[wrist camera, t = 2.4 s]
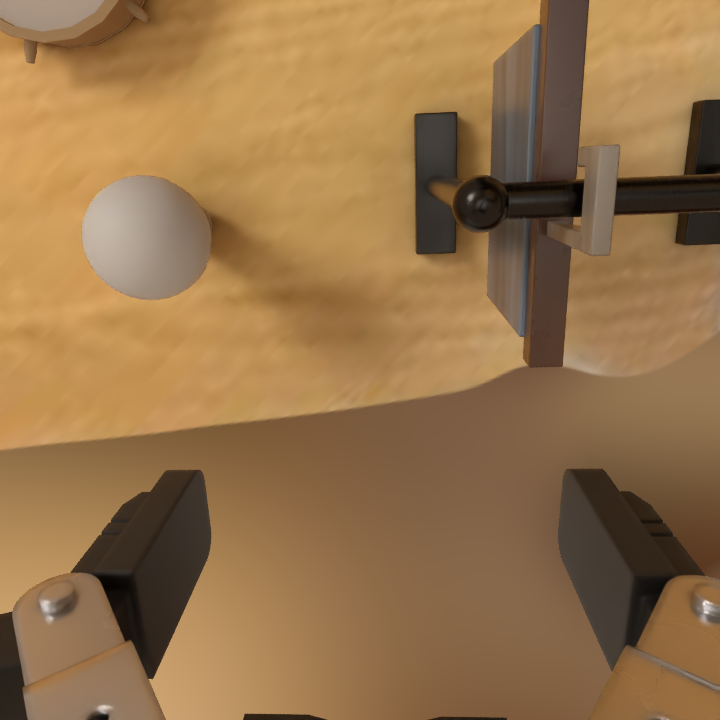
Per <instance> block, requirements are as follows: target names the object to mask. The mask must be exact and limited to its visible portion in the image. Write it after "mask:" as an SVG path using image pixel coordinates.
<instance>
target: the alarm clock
mask: <svg viewBox="0 0 720 720" xmlns="http://www.w3.org/2000/svg"><path fill="white" fill-rule="evenodd" d="M144 3H145V0H0V31H2V32H4V33H6V34H8V35H9V36H13V37H17V38H22V39H24V51H25V56H26V62H28V63H32V64H34V63H35V58H36V54H37V42H41V43H46V44H51V45H55V46H60V47H65V48H70V49H71V48H77V47H84V46H90V45H97V44H100V43H102V42H104V41H106V40H107V39H109V38H111V37H112V36H114V35H116V34H117V33H119V32H121V31H122V30H124V29H125V28H126V27H127V26H128V24H129V23H130V22H131V20H132V19H133V18H134V17H136V18H138V19H139V20H141V21H142V22H144V23H146V24H147V23H148V22H149V20H150V17H149V16H148V15H147V13H146V12H145V11H144V10H143V9H142V6H143V5H144Z"/></svg>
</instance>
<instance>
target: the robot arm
mask: <svg viewBox="0 0 720 720" xmlns="http://www.w3.org/2000/svg"><path fill="white" fill-rule="evenodd" d="M558 542H559V549H560V554H561V558H562V560H563V563H564V565H565V567H566V570H567V572H568V574H569V576H570V579H571V581H572V583H573V586H574V588H575V590H576V592H577V594H578V596H579V599H580V601H581V603H582V606H583V608H584V610H585V612H586V615H587V617H588V619H589V621H590V624H591V626H592V628H593V630H594V633H595V635H596V637H597V639H598V642H599V644H600V646H601V648H602V651H603V653H604V655H605V657H606V660H607V662H608V664H609V666H610V668H611V671H612V673H611V675H610V677H609V679H608V681H607V683H606V685H605V687H604V689H603V691H602V693H601V695H600V697H599V699H598V701H597V703H596V704H595V706H594V708H593V711H592V712H591V715H590V716H589V719H588V720H720V580H717V579H713V578H710V577H706V576H705V575H704V573H703V572H702V571H701V569H700V568H699V567H698V565H697V564H696V563H695V562H694V560H693V559H692V558H691V557H690V555H689V554H688V553H687V551H686V550H685V549H684V548H683V546H682V545H681V544H680V542H679V541H678V540H677V538H676V537H673V533H672V532H671V531H670V529H669V528H668V527H667V525H666V524H663V520H662V519H661V518H660V516H659V515H658V514H657V513H656V511H655V510H654V509H653V507H652V506H651V505H650V504H648V503H647V502H645V501H644V500H642V499H641V498H639V497H638V496H636V495H635V494H633V493H631V492H630V491H629V492H627V491H621V492H620V491H619V490H618V489H617V488H616V486H615V485H614V483H613V482H612V480H611V479H610V478H609V476H608V475H607V473H606V472H605V471H604V470H603V469H566V471H565V473H564V476H563V485H562V495H561V506H560V517H559V528H558ZM210 544H211V526H210V519H209V510H208V503H207V495H206V487H205V480H204V475H203V473H202V471H201V470H167V471H165V472H164V474H163V475H162V476H161V478H160V479H159V480H158V482H157V483H156V485H155V486H154V488H153V489H152V490H151V492H141V493H140V494H138V495H137V496H135V497H134V498H133V499H131V500H129V501H128V502H127V503H125V504H123V505H122V506H121V508H120V509H119V510H118V512H117V513H116V514H115V515H114V517H113V518H112V520H111V523H108V525H107V526H106V527H105V528H104V530H103V531H102V534H101V535H99V536H98V538H97V539H96V540H95V541H94V543H93V544H92V545H91V547H90V548H89V549H88V551H87V552H86V553H85V554H84V556H83V557H82V558H81V559H80V561H79V562H78V563H77V565H76V566H75V567H74V569H73V570H72V571H71V573H68V574H63V575H59V576H56V577H52V578H50V579H47V580H45V581H43V582H41V583H39V584H37V585H36V586H34V587H32V588H31V589H30V590H28V591H27V592H26V593H25V594H24V595H23V596H22V597H20V599H19V600H18V601H17V603H16V604H15V606H14V608H13V612H9V613H5V614H0V720H166V719H165V716H164V714H163V712H162V709H161V708H160V705H159V703H158V700H157V698H156V696H155V693H154V691H153V689H152V686H151V684H150V682H149V679H153V678H154V676H155V674H156V671H157V669H158V667H159V665H160V663H161V660H162V658H163V656H164V653H165V651H166V649H167V647H168V645H169V642H170V640H171V638H172V635H173V634H174V632H175V629H176V627H177V625H178V622H179V620H180V618H181V616H182V614H183V611H184V609H185V607H186V605H187V603H188V600H189V598H190V596H191V594H192V592H193V589H194V587H195V585H196V583H197V581H198V578H199V576H200V574H201V572H202V570H203V567H204V565H205V563H206V561H207V558H208V555H209V551H210ZM243 720H326V719H322V718H319V717H315V716H311V715H290V714H245V715H244V719H243ZM429 720H507V719H506V718H488V717H487V718H486V717H438V718H434V719H429Z"/></svg>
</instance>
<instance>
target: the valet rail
mask: <svg viewBox="0 0 720 720" xmlns="http://www.w3.org/2000/svg"><path fill="white" fill-rule="evenodd" d="M414 150H415V246H416V253H417V254H446V253H455V252H456V221H457V222H458V224H459V225H460V226H461V227H463V228H464V229H466V230H468V231H471V232H475V233H483V232H488V231H490V230H492V229H494V228H496V227H497V226H498V225H499V224H500V223H501V222H502V221H503V220H510V219H537V218H564V217H582V206H583V193H584V180H585V179H580V180H555V181H530V182H506V183H501V182H500V181H499V180H497V179H496V178H494V177H492V176H489V175H475V176H472V177H469V178H468V179H466V180H464V181H463V180H458V179H457V112H442V113H420V114H415V116H414ZM671 213H679V219H678V227H677V235H676V243H678V244H682V245H707V244H720V100H703V101H698V102H694V103H693V109H692V117H691V125H690V133H689V141H688V148H687V156H686V164H685V172H684V175H679V176H654V177H629V178H617V186H616V196H615V207H614V216H617V215H644V214H671Z"/></svg>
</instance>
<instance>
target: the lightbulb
mask: <svg viewBox="0 0 720 720" xmlns="http://www.w3.org/2000/svg"><path fill="white" fill-rule="evenodd" d="M212 229H213V224H212V220H211V217H210V215H209V214H208V213H207V211H206V210H204V209H203V208H202V207H200V205H199V204H198V202H197V201H196V200H195V199H194V198H193V197H192V196H191V195H190V194H189V193H188V192H186V191H185V190H184V189H182V188H181V187H179V186H178V185H177V184H174V183H172V182H170V181H168V180H166V179H163V178H159V177H155V176H143V175H138V176H131V177H125V178H122V179H120V180H117V181H115V182H113V183H111V184H110V185H108V186H107V187H105V188H104V189H103V190H101V191H100V192H99V193H98V194H97V195H96V197H95V198H94V199H93V200H92V202H91V204H90V206H89V207H88V209H87V211H86V213H85V217H84V220H83V225H82V242H83V247H84V251H85V254H86V257H87V259H88V261H89V263H90V265H91V267H92V268H93V270H94V271H95V272H96V274H97V275H98V276H99V277H100V278H101V279H102V280H103V281H104V282H105V283H106V284H107V285H109V286H110V287H112V288H113V289H115V290H116V291H118V292H120V293H123V294H125V295H127V296H130V297H134V298H138V299H144V300H158V299H165V298H170V297H172V296H175V295H178V294H180V293H181V292H183V291H184V290H186V289H188V288H189V287H191V286H192V285H193V284H194V283H195V282H196V281H197V280H198V279H199V278H200V276H201V275H202V273H203V272H204V270H205V268H206V265H207V263H208V260H209V257H210V252H211V246H212V242H211V234H212Z"/></svg>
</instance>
